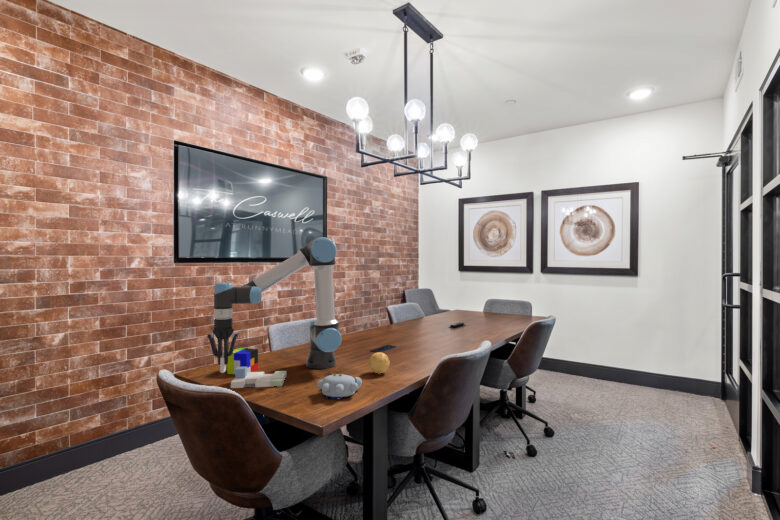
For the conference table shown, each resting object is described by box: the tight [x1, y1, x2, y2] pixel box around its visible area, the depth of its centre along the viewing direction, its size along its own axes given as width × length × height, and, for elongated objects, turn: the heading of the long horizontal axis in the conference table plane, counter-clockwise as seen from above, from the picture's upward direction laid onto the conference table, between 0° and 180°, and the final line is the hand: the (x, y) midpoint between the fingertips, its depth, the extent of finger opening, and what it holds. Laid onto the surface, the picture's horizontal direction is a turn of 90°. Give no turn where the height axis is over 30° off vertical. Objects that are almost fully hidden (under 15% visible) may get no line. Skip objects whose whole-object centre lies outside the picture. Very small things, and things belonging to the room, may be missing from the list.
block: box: [234, 367, 247, 379], centre depth 171 cm, size 4×4×4 cm
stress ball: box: [368, 351, 391, 375], centre depth 184 cm, size 10×10×10 cm
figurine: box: [316, 373, 363, 400], centre depth 158 cm, size 17×8×20 cm
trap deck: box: [230, 370, 288, 389], centre depth 172 cm, size 21×14×2 cm, turn 97°
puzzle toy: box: [226, 347, 259, 375], centre depth 188 cm, size 10×10×10 cm
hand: (223, 371), depth 170 cm, fingers closed
